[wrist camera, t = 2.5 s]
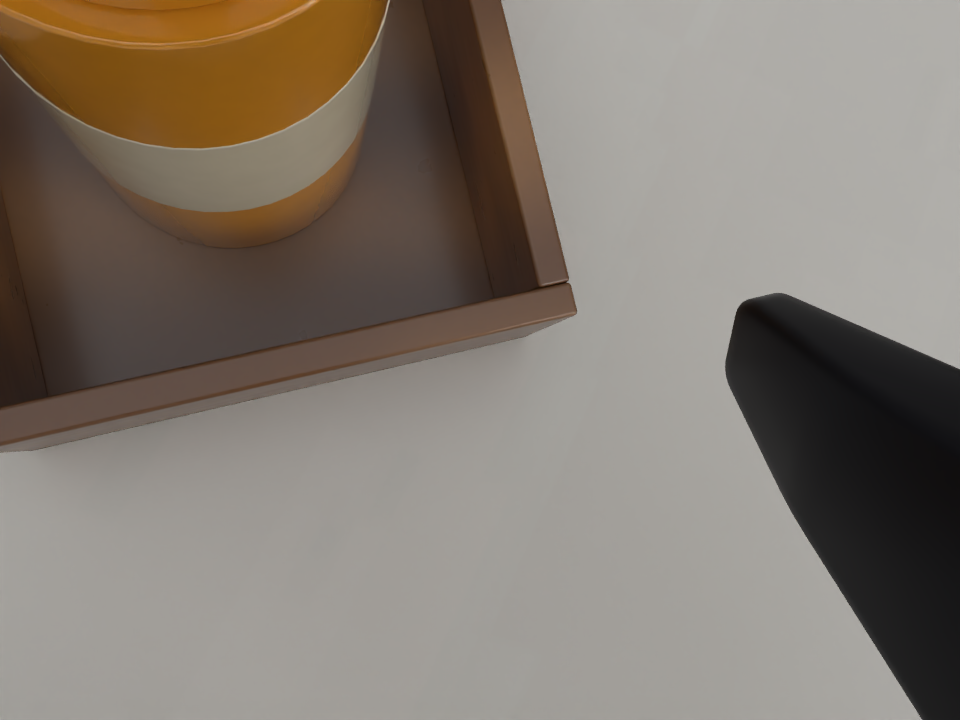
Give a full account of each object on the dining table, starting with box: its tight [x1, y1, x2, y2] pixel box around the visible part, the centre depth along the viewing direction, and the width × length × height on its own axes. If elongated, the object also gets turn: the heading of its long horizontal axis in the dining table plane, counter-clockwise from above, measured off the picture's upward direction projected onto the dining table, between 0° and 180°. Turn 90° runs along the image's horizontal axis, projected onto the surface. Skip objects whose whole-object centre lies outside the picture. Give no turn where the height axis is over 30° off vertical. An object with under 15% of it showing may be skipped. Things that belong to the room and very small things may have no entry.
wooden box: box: [0, 0, 577, 453], centre depth 19 cm, size 13×12×4 cm
